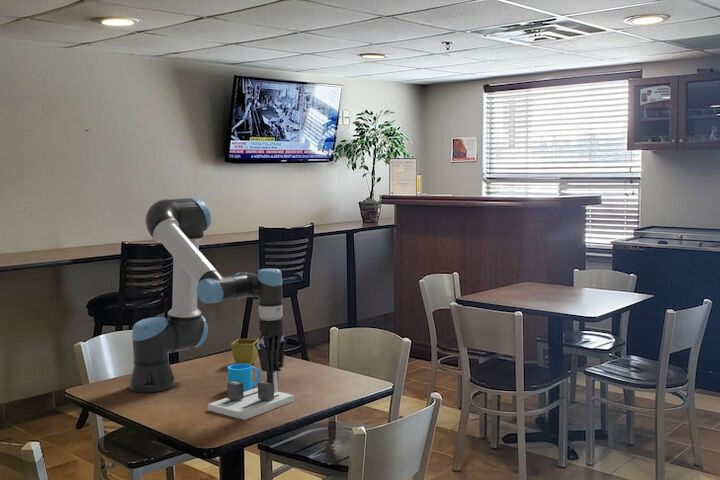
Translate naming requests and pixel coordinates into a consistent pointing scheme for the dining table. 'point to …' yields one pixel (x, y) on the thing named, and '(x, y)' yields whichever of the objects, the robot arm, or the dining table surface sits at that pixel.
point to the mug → (243, 375)
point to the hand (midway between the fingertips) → (272, 391)
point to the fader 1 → (235, 390)
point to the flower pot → (245, 351)
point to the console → (249, 404)
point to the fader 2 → (265, 390)
